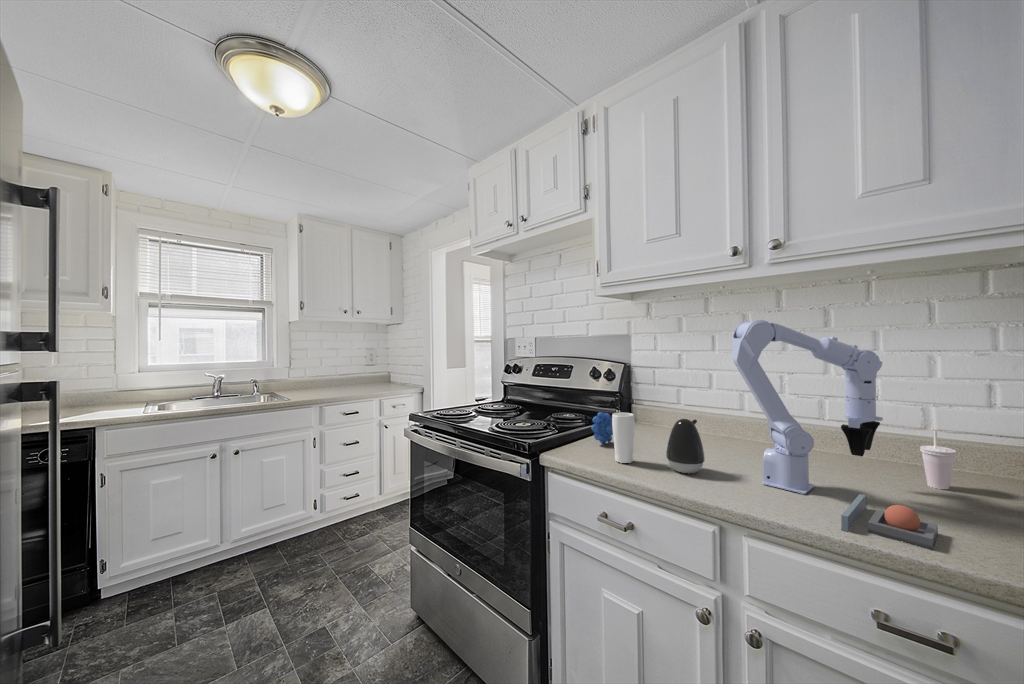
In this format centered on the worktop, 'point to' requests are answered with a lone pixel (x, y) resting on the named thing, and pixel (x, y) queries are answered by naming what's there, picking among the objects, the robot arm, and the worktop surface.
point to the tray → (904, 531)
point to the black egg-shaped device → (685, 447)
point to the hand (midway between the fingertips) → (861, 452)
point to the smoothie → (938, 464)
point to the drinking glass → (623, 436)
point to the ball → (902, 518)
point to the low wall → (853, 512)
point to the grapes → (602, 427)
